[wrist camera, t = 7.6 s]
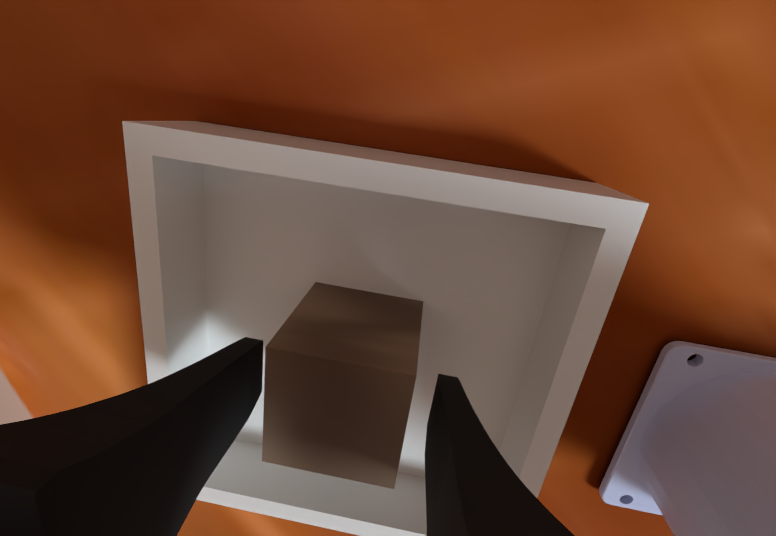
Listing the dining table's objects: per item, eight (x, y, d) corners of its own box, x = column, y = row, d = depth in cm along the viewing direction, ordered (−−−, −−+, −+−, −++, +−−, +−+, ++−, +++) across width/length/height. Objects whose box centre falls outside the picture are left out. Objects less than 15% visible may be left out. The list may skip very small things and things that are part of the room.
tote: (597, 182, 13) (649, 203, 10) (497, 488, 18) (510, 568, 15) (195, 120, 14) (122, 121, 11) (206, 428, 19) (158, 491, 16)
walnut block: (423, 301, 14) (416, 375, 10) (406, 391, 16) (394, 489, 12) (315, 281, 15) (265, 347, 10) (308, 372, 16) (261, 461, 12)
